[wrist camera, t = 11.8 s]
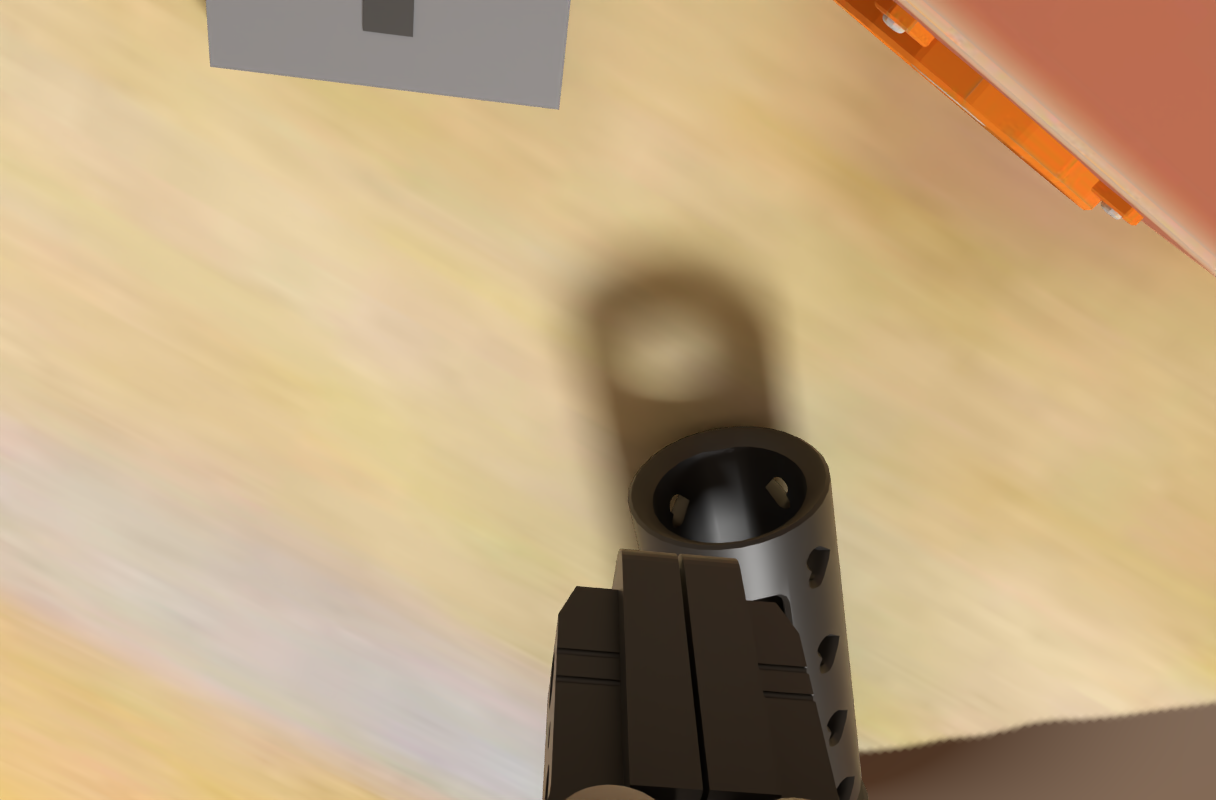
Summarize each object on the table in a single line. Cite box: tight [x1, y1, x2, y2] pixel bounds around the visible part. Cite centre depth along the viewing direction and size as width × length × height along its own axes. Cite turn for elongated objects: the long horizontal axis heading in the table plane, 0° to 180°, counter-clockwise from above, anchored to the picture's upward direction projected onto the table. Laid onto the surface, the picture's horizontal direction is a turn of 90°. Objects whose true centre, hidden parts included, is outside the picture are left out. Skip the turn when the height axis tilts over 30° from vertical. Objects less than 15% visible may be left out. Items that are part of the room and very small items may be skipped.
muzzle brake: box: [628, 427, 869, 800], centre depth 53 cm, size 10×28×10 cm, turn 11°
